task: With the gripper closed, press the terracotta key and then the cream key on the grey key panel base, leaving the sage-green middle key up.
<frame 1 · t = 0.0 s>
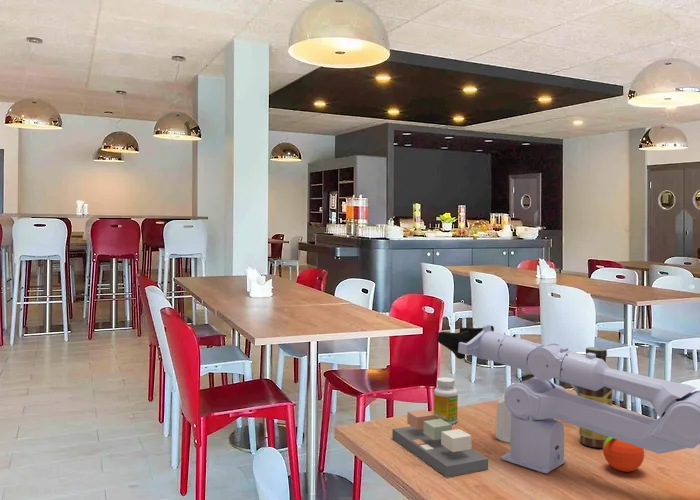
hand: (449, 334, 126), 22 cm above the table, tool horizontal, fingers open, 7 cm apart
sage key: (437, 429, 116), point 5 cm above the table, slide at 0.0 cm
grey key panel base: (437, 452, 117), on the table
sauce bottle: (594, 444, 122), on the table
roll: (509, 438, 125), on the table
terracotta key: (420, 419, 122), point 5 cm above the table, slide at 0.0 cm
wine glass: (579, 420, 138), on the table
clementine: (620, 471, 109), on the table
supplement bottle: (445, 421, 136), on the table
cream key: (456, 440, 110), point 5 cm above the table, slide at 0.0 cm
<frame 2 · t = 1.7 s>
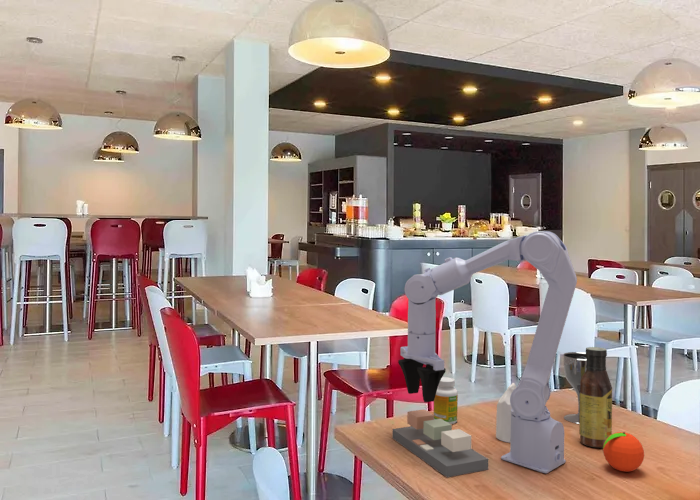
hand: (420, 397, 122), 9 cm above the table, tool pointing down, fingers open, 6 cm apart
nothing on the table moved.
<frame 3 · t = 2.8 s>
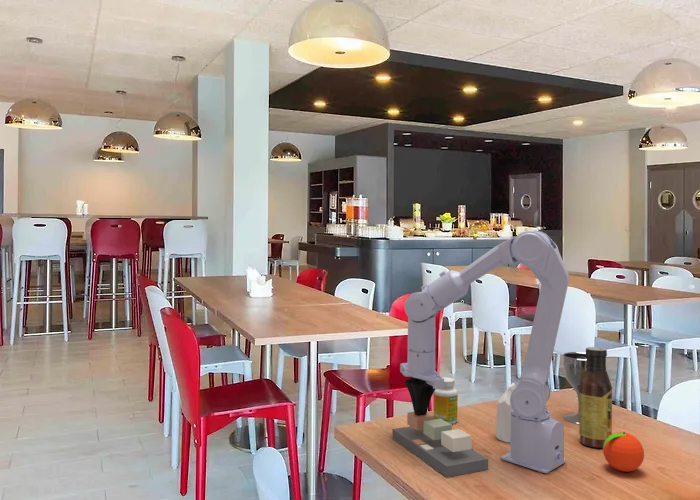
hand: (420, 414, 122), 6 cm above the table, tool pointing down, fingers closed, pressing on terracotta key
terracotta key: (420, 420, 122), point 5 cm above the table, slide at 0.2 cm, touching gripper
everything else where it was.
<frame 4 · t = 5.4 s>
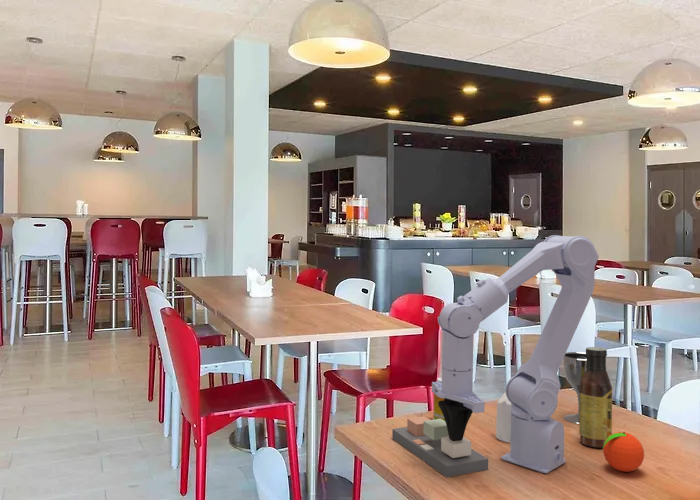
hand: (455, 439, 110), 5 cm above the table, tool pointing down, fingers closed, pressing on cream key
terracotta key: (420, 426, 122), point 3 cm above the table, slide at 1.5 cm
cream key: (456, 446, 111), point 4 cm above the table, slide at 1.1 cm, touching gripper
everything else where it was.
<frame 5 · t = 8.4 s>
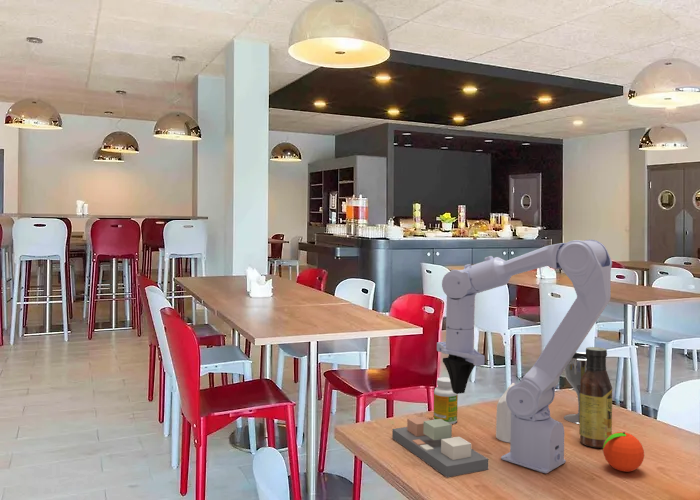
hand: (458, 392, 122), 10 cm above the table, tool pointing down, fingers closed
cream key: (456, 448, 111), point 3 cm above the table, slide at 1.5 cm
everything else where it was.
at the end: terracotta key slide at 1.5 cm; cream key slide at 1.5 cm; sage key slide at 0.0 cm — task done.
